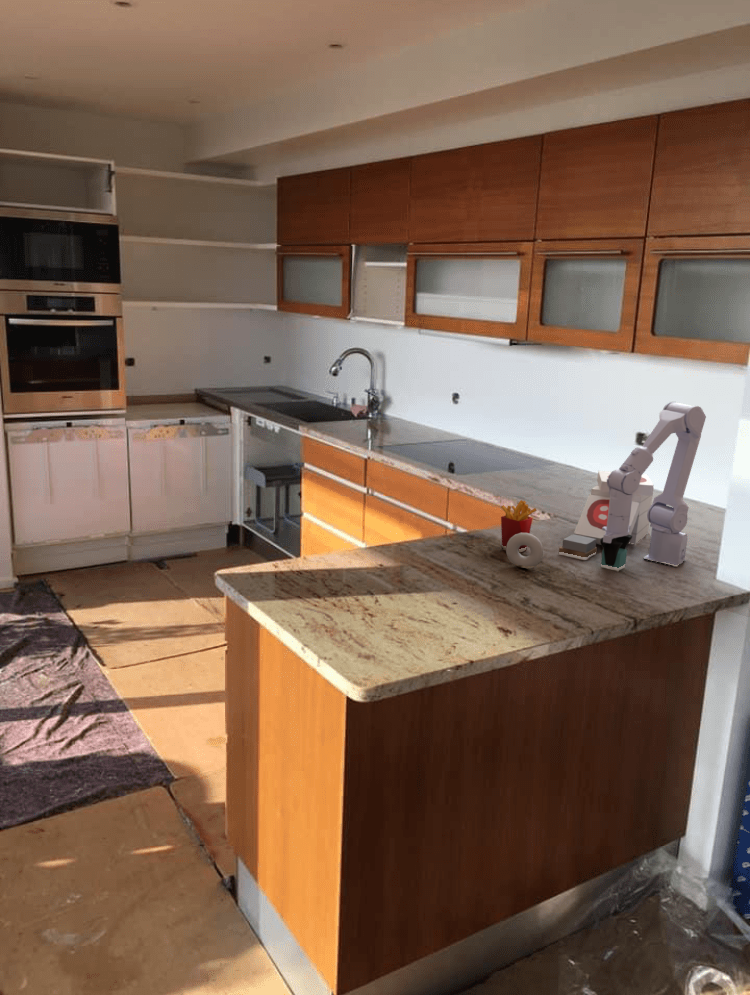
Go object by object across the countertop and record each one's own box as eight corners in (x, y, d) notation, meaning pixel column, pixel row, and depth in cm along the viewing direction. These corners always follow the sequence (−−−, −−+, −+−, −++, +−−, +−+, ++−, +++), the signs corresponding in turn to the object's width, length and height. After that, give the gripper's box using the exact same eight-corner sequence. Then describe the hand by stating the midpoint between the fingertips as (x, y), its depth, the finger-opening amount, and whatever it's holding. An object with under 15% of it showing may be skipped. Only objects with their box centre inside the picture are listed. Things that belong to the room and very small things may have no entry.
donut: (503, 567, 224) (506, 531, 222) (506, 563, 227) (509, 528, 225) (540, 573, 221) (543, 537, 218) (542, 569, 224) (546, 533, 221)
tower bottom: (596, 555, 239) (597, 547, 238) (585, 562, 233) (585, 553, 232) (569, 549, 243) (570, 541, 243) (558, 556, 237) (559, 547, 236)
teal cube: (625, 567, 228) (627, 549, 227) (618, 571, 224) (620, 554, 223) (607, 563, 231) (609, 545, 230) (600, 567, 227) (602, 550, 226)
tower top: (595, 547, 238) (596, 539, 237) (585, 552, 233) (586, 544, 232) (572, 542, 242) (573, 534, 241) (562, 547, 237) (563, 539, 236)
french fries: (497, 549, 239) (501, 499, 235) (514, 544, 245) (518, 494, 241) (522, 557, 233) (527, 505, 229) (539, 551, 239) (544, 500, 235)
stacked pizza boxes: (566, 544, 246) (572, 485, 242) (597, 522, 271) (603, 467, 267) (631, 557, 237) (639, 496, 232) (657, 533, 262) (664, 477, 257)
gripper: (614, 506, 232) (609, 552, 235) (594, 516, 221) (589, 565, 224) (639, 511, 228) (633, 558, 231) (620, 522, 217) (614, 571, 220)
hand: (613, 562), depth 228 cm, fingers closed on teal cube, 5 cm apart
